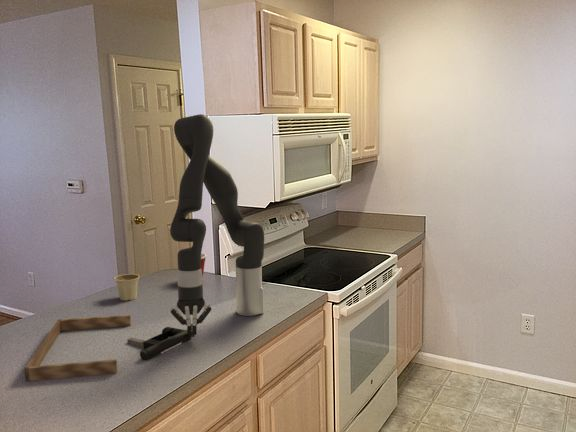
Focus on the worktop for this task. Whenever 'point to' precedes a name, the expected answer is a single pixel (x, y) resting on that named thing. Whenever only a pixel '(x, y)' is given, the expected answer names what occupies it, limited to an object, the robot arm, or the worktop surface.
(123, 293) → the flower pot
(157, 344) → the door handle
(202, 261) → the plastic cup
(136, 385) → the worktop surface
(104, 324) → the box
